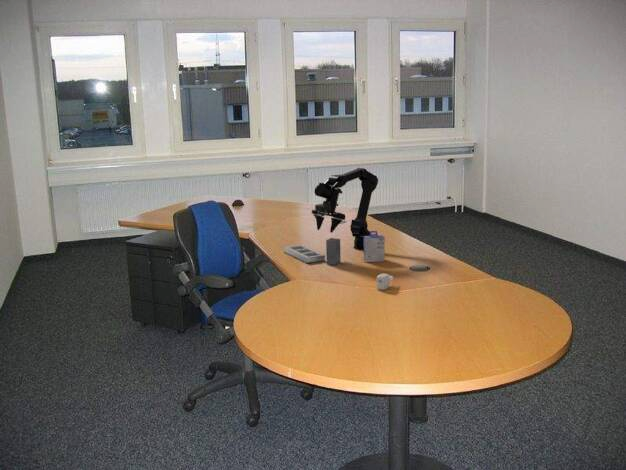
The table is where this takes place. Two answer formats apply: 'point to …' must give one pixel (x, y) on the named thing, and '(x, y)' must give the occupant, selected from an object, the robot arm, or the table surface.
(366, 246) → the ink cartridge box
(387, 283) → the power adapter
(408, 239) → the table surface
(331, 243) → the steel square peg
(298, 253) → the silver compartment tray
